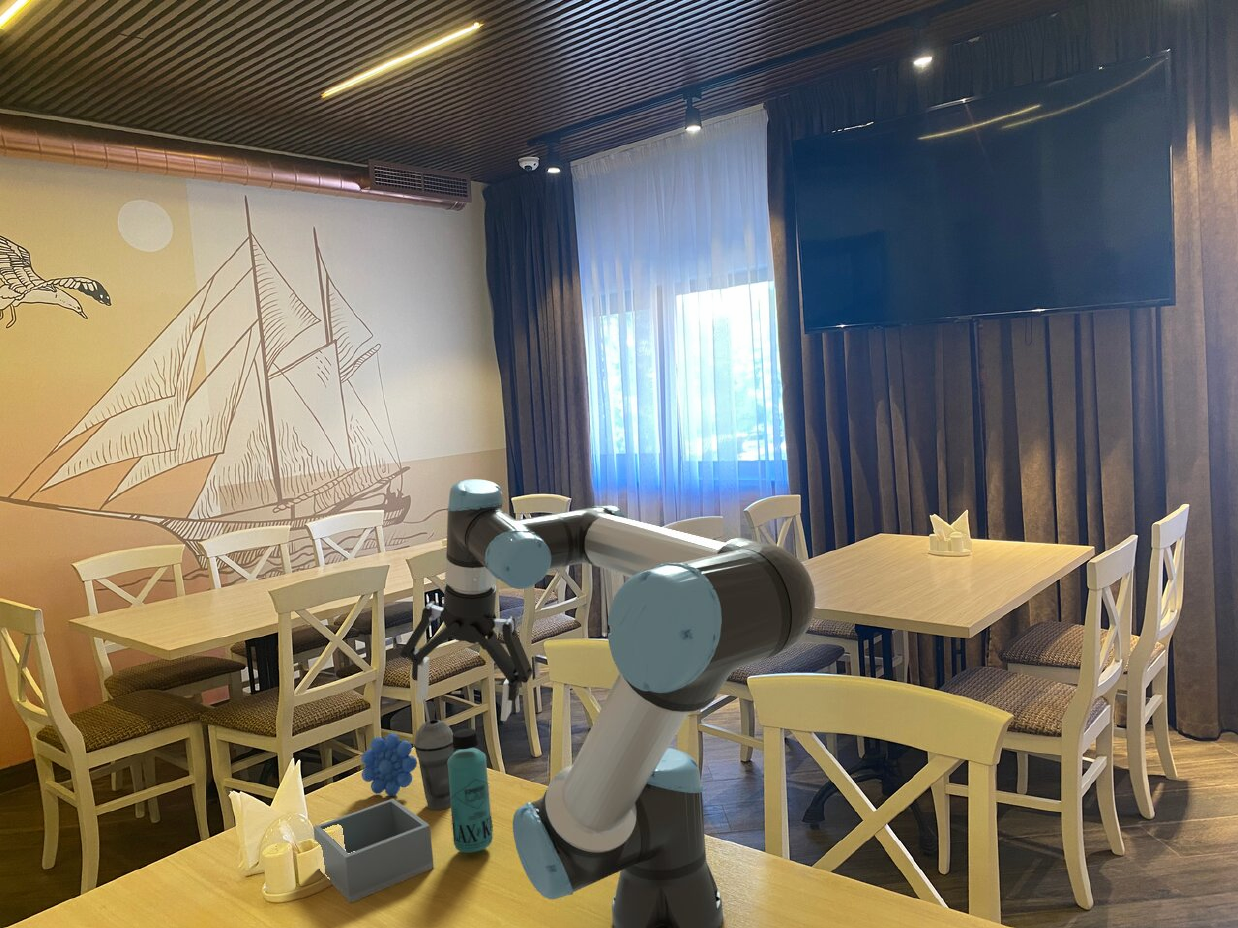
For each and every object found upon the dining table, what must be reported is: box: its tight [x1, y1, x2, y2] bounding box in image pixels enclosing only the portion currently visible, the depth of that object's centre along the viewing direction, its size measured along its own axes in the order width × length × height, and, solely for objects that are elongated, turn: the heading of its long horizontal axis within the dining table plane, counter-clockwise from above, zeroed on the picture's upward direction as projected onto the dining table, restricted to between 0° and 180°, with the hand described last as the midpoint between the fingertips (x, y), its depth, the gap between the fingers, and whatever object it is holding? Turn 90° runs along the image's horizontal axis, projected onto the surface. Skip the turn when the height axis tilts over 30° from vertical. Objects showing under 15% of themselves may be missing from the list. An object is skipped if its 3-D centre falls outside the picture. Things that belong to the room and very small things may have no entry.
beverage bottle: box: [447, 728, 494, 853], centre depth 146 cm, size 6×7×20 cm
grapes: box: [360, 733, 418, 797], centre depth 170 cm, size 12×7×12 cm, turn 75°
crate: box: [313, 798, 435, 904], centre depth 143 cm, size 14×14×7 cm
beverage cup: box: [413, 698, 455, 811], centre depth 164 cm, size 7×7×20 cm
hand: (463, 707), depth 140 cm, fingers open, 13 cm apart
